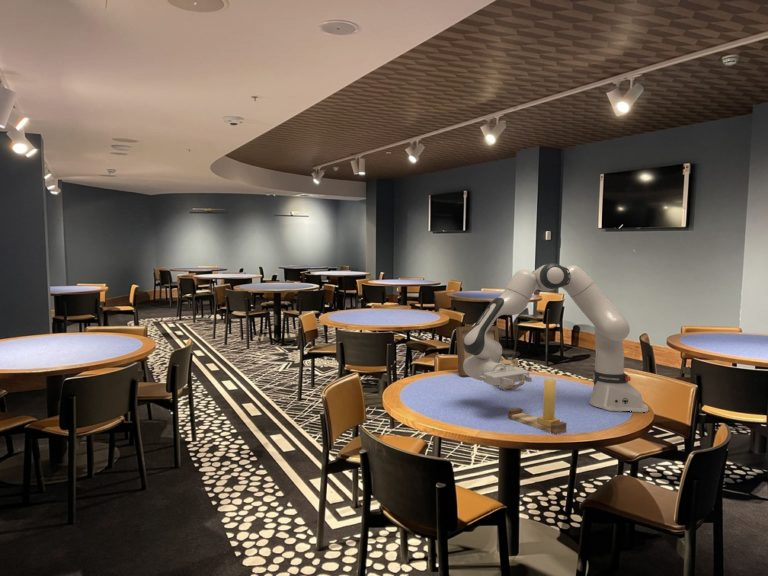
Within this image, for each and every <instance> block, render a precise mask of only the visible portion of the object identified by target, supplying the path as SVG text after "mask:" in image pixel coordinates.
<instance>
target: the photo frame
mask: <svg viewBox="0 0 768 576" xmlns="http://www.w3.org/2000/svg"><path fill="white" fill-rule="evenodd" d="M473 326H474V325H473ZM473 326H457V327H455V336H456V350H457V365H458V367H457V369H458V376H459V375H460V376H468V375H467V374H466V373H465V371H464V369H463V363H464V360H465V359H466V358H468V357H470V356H472V354H469V353H467V352H466V351H465V349H464V346H463V339H464V337H465V335H466V334H467V333H468V332H469V331H470V330H471V329H472V328H473ZM486 335H487V336H488V337H490V338H492V339H494V340H495V341H497V342H498V343H500V340H499V339H500V338H499V336H500V335H499V326H498V325H492V326H491V327H490V329H489V330H488V331H487V334H486Z"/></svg>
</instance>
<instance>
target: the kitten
mask: <svg viewBox="0 0 768 576" xmlns="http://www.w3.org/2000/svg"><path fill="white" fill-rule="evenodd" d="M499 363H501V364H512V365H513V367H518V368H519V366H518V365H519V359H518V358H515V359H514V360H512V361H510V360H505V359H504V358H503V356H501V358H500V361H499ZM525 382H526V381H521V382H518V383H517V384H516V383H515V384H514V385H510V384H502V385H496V386H495V385H492V386H493V387H499V390H502V391H505V390H512V389H515V388H519V387H522V386H523V385H524V384H525Z"/></svg>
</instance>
